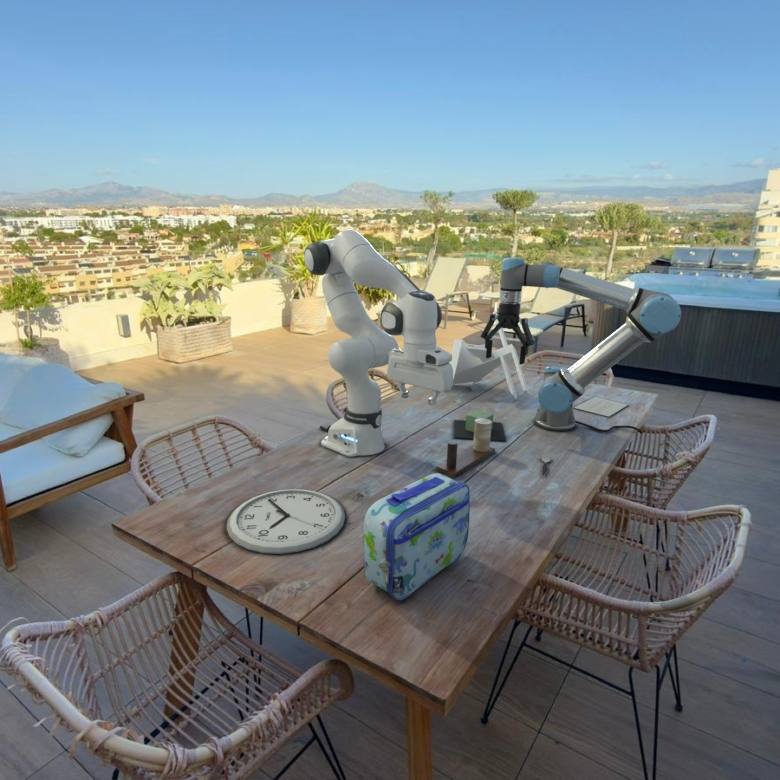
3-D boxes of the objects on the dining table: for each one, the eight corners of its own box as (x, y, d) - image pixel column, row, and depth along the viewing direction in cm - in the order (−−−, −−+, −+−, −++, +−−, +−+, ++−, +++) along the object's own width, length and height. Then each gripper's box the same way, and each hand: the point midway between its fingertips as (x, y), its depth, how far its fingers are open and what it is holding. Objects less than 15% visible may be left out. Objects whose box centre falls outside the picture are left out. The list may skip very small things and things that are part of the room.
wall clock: (345, 545, 122) (213, 550, 119) (345, 551, 122) (214, 556, 120) (344, 484, 150) (238, 487, 148) (345, 490, 151) (239, 492, 148)
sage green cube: (492, 429, 197) (493, 414, 196) (482, 434, 192) (483, 419, 190) (475, 424, 202) (476, 409, 200) (465, 429, 196) (466, 414, 195)
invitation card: (608, 416, 214) (573, 407, 224) (608, 416, 214) (573, 408, 224) (628, 404, 229) (594, 396, 238) (628, 405, 229) (594, 397, 238)
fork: (538, 475, 162) (539, 470, 161) (542, 455, 176) (543, 450, 175) (547, 477, 161) (547, 471, 160) (550, 457, 175) (551, 451, 174)
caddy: (494, 452, 178) (497, 421, 175) (454, 477, 160) (456, 442, 156) (477, 446, 183) (479, 416, 179) (435, 470, 164) (437, 436, 161)
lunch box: (392, 613, 103) (394, 520, 97) (356, 587, 110) (356, 498, 104) (472, 558, 121) (478, 476, 114) (437, 539, 128) (441, 461, 122)
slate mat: (500, 423, 205) (500, 422, 204) (504, 441, 188) (505, 440, 187) (454, 421, 207) (454, 419, 206) (454, 438, 190) (454, 437, 189)
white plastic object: (461, 429, 252) (437, 405, 227) (444, 352, 274) (420, 323, 250) (535, 404, 240) (518, 377, 215) (510, 326, 262) (492, 293, 237)
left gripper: (382, 348, 145) (382, 395, 149) (444, 360, 133) (442, 411, 137) (396, 345, 150) (395, 391, 154) (457, 356, 138) (454, 405, 142)
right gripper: (473, 300, 190) (470, 356, 197) (538, 307, 175) (532, 368, 182) (484, 298, 196) (480, 353, 202) (547, 305, 181) (541, 364, 187)
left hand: (418, 400), depth 145 cm, fingers open, 8 cm apart
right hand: (504, 360), depth 192 cm, fingers open, 13 cm apart
